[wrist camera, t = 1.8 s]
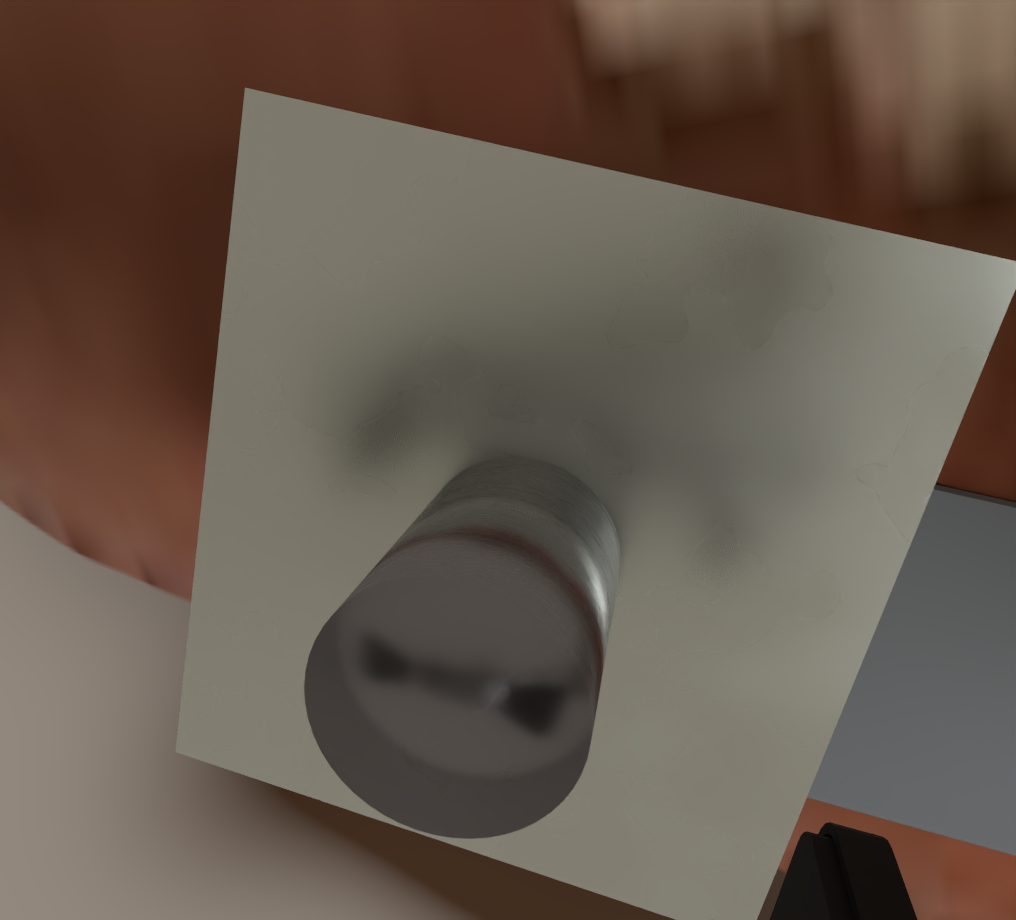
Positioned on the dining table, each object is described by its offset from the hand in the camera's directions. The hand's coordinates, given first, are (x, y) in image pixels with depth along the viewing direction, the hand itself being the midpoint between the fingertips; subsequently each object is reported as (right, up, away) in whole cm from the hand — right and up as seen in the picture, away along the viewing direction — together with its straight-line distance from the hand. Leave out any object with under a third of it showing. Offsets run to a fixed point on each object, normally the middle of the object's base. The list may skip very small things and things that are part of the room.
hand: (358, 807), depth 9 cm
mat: (+17, -4, +24) cm, 30 cm away
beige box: (+5, +7, +23) cm, 25 cm away
